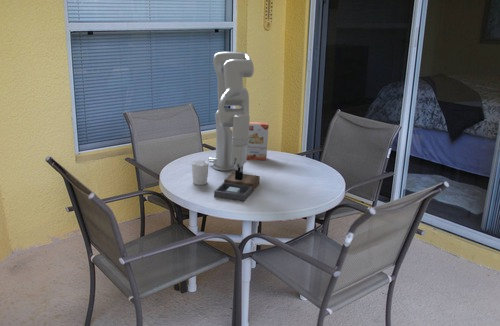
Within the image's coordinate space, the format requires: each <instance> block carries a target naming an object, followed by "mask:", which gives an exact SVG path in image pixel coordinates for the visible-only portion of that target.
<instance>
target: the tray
mask: <svg viewBox="0 0 500 326" xmlns="http://www.w3.org/2000/svg"><path fill="white" fill-rule="evenodd" d="M229 187H235V188H240V194H235V193H229V192H226V190H227V189H228V188H229ZM252 193H253V192H252V186H246V185H239V184H232V183H225V182H224V181H223V182H222V183H221V184H220V185H219V186H218V187H217V188H216V189H215V190H214V192H213V195H214V196H213V197H214V198H217V199H223V200H229V201H236V202H242V203H245V201H246V200H247V199H248V198H249V197H250V196H251V194H252Z"/></svg>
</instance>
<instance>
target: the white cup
mask: <svg viewBox="0 0 500 326" xmlns="http://www.w3.org/2000/svg"><path fill="white" fill-rule="evenodd" d="M209 163H210V162H209V161H206V160H194V161H192V162H191V172H192V183H193V184H194V185H197V186H203V185H206V184H207V183H208V176H209Z"/></svg>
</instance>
